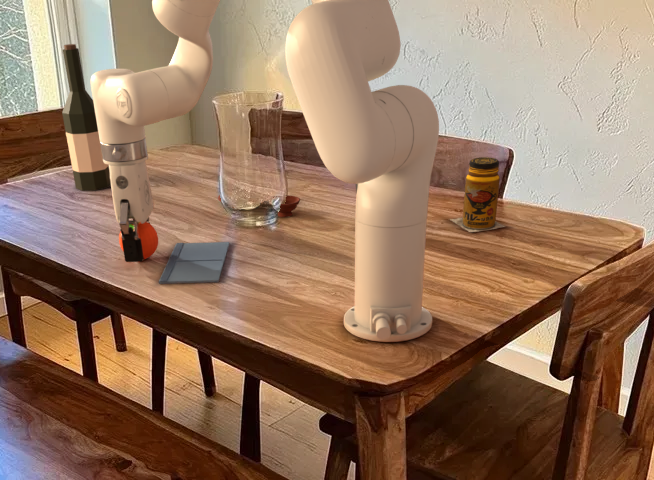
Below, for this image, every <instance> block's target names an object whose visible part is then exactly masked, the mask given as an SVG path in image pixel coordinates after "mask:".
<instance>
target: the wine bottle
mask: <svg viewBox="0 0 654 480" xmlns="http://www.w3.org/2000/svg"><path fill="white" fill-rule="evenodd" d="M62 54H63V60H64V66H65V71H66V77H67V83H68V89H69V93H68V95H67V98H66V100H65V104H64V107H63V109H62V112H61V114H62V119H63V125H64V130H65V136H66V141H67V146H68V147H67V148H68V151H69V158H70V164H71V169H72V175H73V180H74V185H75V189H76V190H80V191H81V192H85V191H86V192H88V191H99V190H104V189H108V188H109V187H111V180H110V170H109V165H108V164H105V163H104V162H103V157H102V151H101V145H100V139H99V133H98V127H97V121H96V114H95V108H94V102H93V97H91V95H90V94H89V92H88V91H87V89H86V86H85V85H86V84H85V79H84V73H83V67H82V61H81V55H80V49H79V48H78V47H77V44H76V43H68V44H64V45H63V49H62Z"/></svg>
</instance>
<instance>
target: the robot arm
mask: <svg viewBox="0 0 654 480" xmlns="http://www.w3.org/2000/svg"><path fill="white" fill-rule="evenodd" d="M310 1H311V4H310V5H307V6H306V7H304V8H302V9H301V10H300V12H298V13H297V14H296V16H294V18H293V20H292V22H290V24H289V27H288V30H287V34H286V39H285V46H284V47H285V48H284V49H285V52H284V53H285V55H284V56H285V64H286V71H287V73H288V76H289V79H290V82H291V86H292V89H293V91H294V94H295V96H296V98H297V102H298V104H299V106H300V110H301V112H302V114H303V118H304V120H305V123H306V125H307V127H308V130H309V133H310V135H311V138H312V140H313V144H314V146H315V148H316V151H317V153H318V155H319V157H320V159H321V161H322V163H323V165H324V166H325V168H326V169H327V171H328V172H330V174H331V175H332V176H333V177H335V178H336V179H338V180H339V181H342V182H343V183H346V184H351V185H356V184H358V188H357V194H356V193H355V195H356V196H355V197H356V198H355V212H354V213H355V215H354V216H355V217H354V225H355V226H354V305H353V306H352V307H350V308H348V309H347V310H346V312H345V313H344V315H343V325H344V326H343V327H344V328H345V329H346V331H348V332H349V333H350V334H351V335H353V336H355V337H358V338H360V339H364V340H367V341H373V342H381V343H395V342H396V343H397V342H406V341H409V340H414V339H416V338H419V337H422V336H424V335H425V334H427V333H428V332H429V331H430V330H431V328H432V326H433V316H432V313H431V312H430V311H429V309H427V308H425V306H423V293H424V276H425V257H426V242H427V241H426V240H427V225H428V223H427V222H428V214H429V213H428V212H429V197H430V188H431V187H430V186H431V178H432V172H433V167H434V162H435V159H436V154H437V153H436V152H437V148H438V144H439V137H440V136H439V134H440V120H439V114H438V111H437V108H436V105H435V103H434V102H433V100H432V99H431V97H429V95H428V94H427V93H426V92H425V91H423V90H421V89H420V88H418V87H415V86H412V85H407V84H395V85H391V86H387V87H383V88H379V89H377V90H373V91H372V89H371V86H370V84H369V82H372V81H373V80H376V79H379V78H381V77H383V76H385V75H386V74H387V73H388V72H390V71H391V70H392V69H393V68H394V67H395V65H396V64H397V62H398V59H399V57H400V54H401V45H402V43H401V37H400V32H399V28H398V25H397V22H396V21H397V20H396V18H395V16H394V13H393V10H392V6H391V4H390V1H389V0H310ZM220 3H221V0H152V1H151V5H152V6H151V7H152V11H153V14H154V16H155V18H156V19H157V21H158V22H159V23H160V24H161V25H162V26H163V27H164V28H165V29H166V30H167V31H169V32H170V33H172V34H173V35H175V36H177V37H178V41H177V45H176V47H175V50H174V53H173V55H172V58H171V60H170V62H169V64H168V65H166V66H160V67H155V68H150V69H146V70H142V71H137V72H135V71H133V70H132V69H129V68H106V69H102V70H101V69H100V70H98V71H96V72H94V73H93V74H92V75H91V77H90V89H91V96H92V99H93V102H94V108H95V114H96V121H97V127H98V133H99V139H100V145H101V151H102V157H103V162H104V163H105V164H108V165H109V171H110V180H111V185H110V187H111V196H112V203H113V209H114V216H115V220H116V222H117V223H118V224H119V227H120V231H121V239H122V245H123V250H122V252H123V251H124V252H123V257H124V261H125V262H126V263H141V262H143V261H144V260H145V259H144V257H143V250H142V243H141V238H139V228H138V222H141V223H142V224H143V223H145V222H148V223H149V224H151V222H150V216H151V214H152V213H153V210H154V199H153V193H152V188H151V182H150V176H149V172H148V167H147V162H146V161H148V159H149V155H148V154H149V153H148V146H147V139H146V130H145V129H146V128H145V126H149V125H152V124H156V123H157V124H158V123H159V122H162V121H167V120H170V119H174V118H177V117H181V116H184V115H186V114H188V113H189V112H191V111H192V110H193V109H194V108H195V107H196V105H197V104H198V103H199V100H200V99H201V97H202V95H203V92H204V91H205V89H206V86H207V84H208V81H209V79H210V76H211V75H212V70H213V64H214V50H213V49H214V48H213V41H212V37H211V33H210V30H209V29H210V26H211V24H212V21H213V19H214V16H215V15H216V12H217V9H218V7H219V4H220ZM130 219H131V220H130ZM129 226H134V231H133V229H132V227H129ZM120 231H119V232H120Z"/></svg>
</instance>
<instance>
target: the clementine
mask: <svg viewBox="0 0 654 480" xmlns="http://www.w3.org/2000/svg"><path fill="white" fill-rule="evenodd" d="M129 227H132V229H133V231H134V226H129ZM138 228H139V238H141V243H142V250H143V257H144V259H143V260H146V259H148V258H150V257H152V256H153V255H154V254H155V253H156V251H157V249H158V246H159V236H158V232H157V230H156V228H155V227H154V226H153V225H152V224H151V223H150V224H149V223H148V222H145V223H143V224H142V223H141V222H138ZM118 243H119V247H120V249H121V251H122V252H123V253H124V251H123V245H122V239H121V231H119V234H118Z"/></svg>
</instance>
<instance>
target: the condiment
mask: <svg viewBox="0 0 654 480" xmlns="http://www.w3.org/2000/svg"><path fill="white" fill-rule="evenodd" d="M467 171H468V174H467V175H466V177H465V186H464V195H463V198H464V199H463V201H462V202H463V208H462V217H457V218H449V221H450V222H452V223H454V224H456V225H457V226H458V227H461V228H462V229H463V230H465V231H467V232H469V233H476V232H477V233H478V232H483V231H490V230H497V229H499V228H500V229H501V228H506V225H503V224H501V223H500V222H497V221H496V220H497V213H498V201H499V191H500V180H501V177H500V174H499V171H500V161H499V160H498V159H497V158H495V157H487V156H480V157H474V158H472V159H470V160H469V168H468V170H467Z"/></svg>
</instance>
